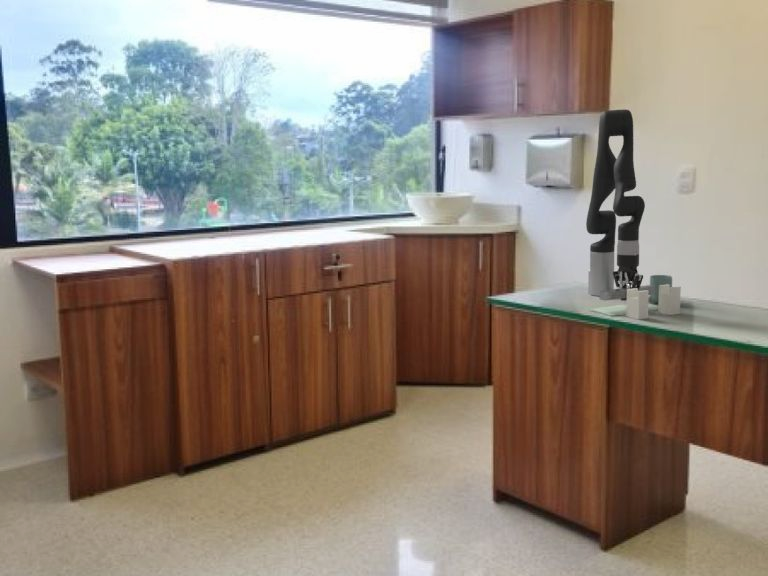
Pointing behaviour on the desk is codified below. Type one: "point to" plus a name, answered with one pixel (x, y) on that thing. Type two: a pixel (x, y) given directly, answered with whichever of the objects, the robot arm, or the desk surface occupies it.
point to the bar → (622, 293)
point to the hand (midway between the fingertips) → (627, 300)
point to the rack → (639, 302)
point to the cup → (656, 281)
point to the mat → (618, 309)
